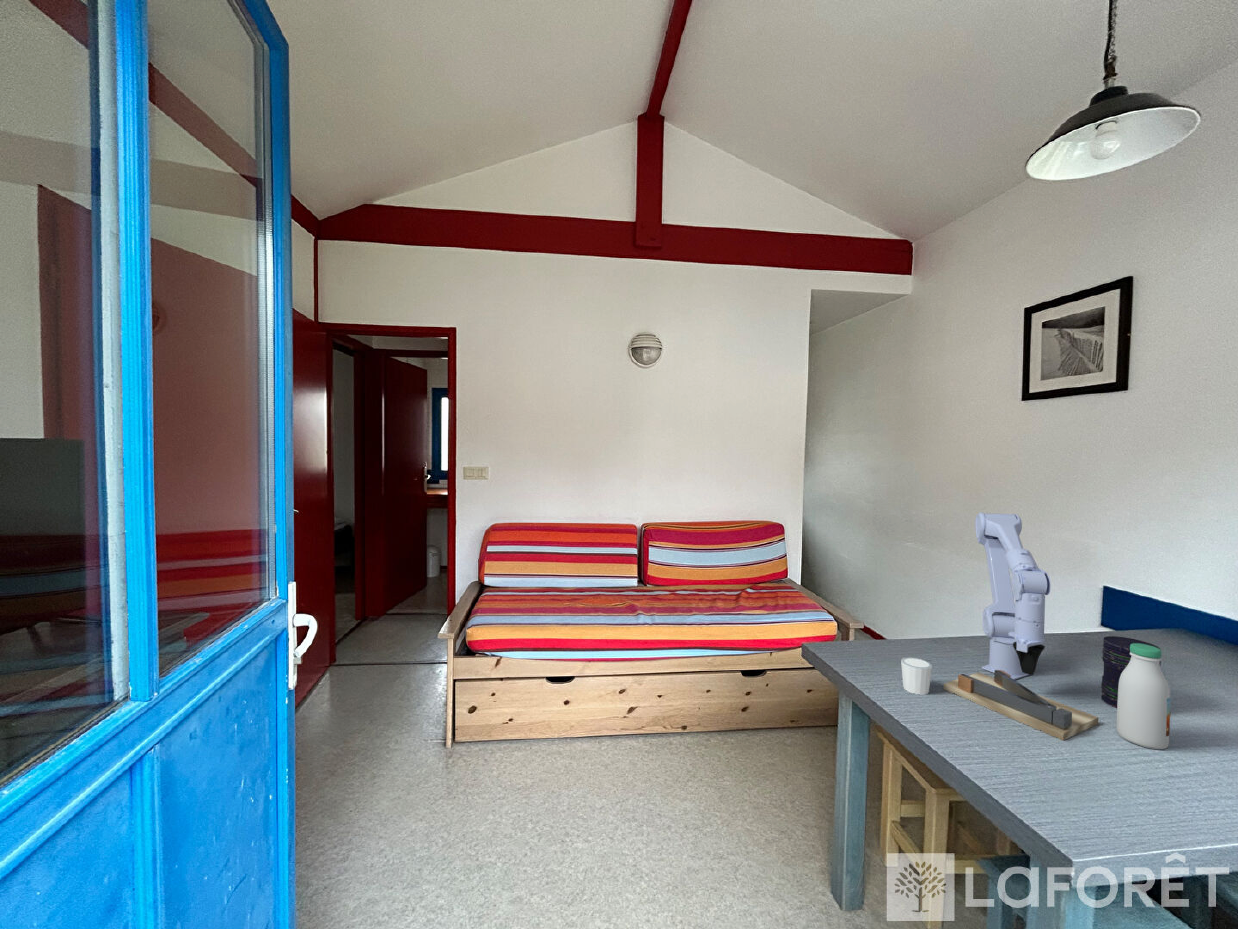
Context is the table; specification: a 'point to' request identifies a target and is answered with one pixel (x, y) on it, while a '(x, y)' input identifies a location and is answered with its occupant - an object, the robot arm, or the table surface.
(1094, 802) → the table surface
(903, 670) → the white cup
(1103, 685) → the storage jar
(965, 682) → the tongs fixed arm
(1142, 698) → the milk bottle
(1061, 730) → the board
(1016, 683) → the arm
